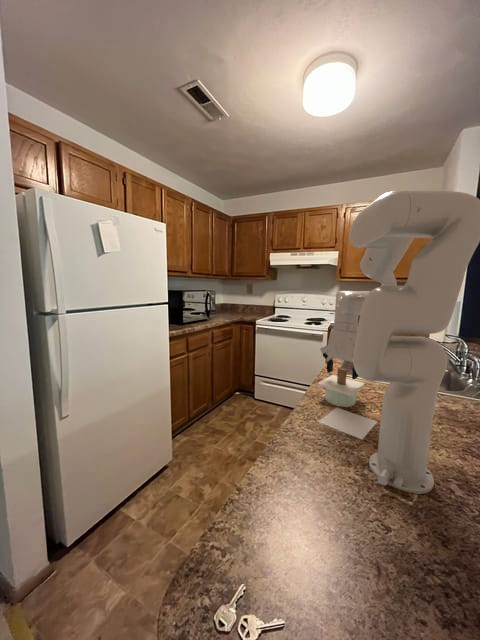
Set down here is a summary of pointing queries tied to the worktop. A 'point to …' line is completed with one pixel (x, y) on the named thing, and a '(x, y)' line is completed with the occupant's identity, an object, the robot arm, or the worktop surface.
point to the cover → (341, 383)
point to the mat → (348, 422)
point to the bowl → (340, 398)
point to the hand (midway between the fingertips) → (341, 374)
